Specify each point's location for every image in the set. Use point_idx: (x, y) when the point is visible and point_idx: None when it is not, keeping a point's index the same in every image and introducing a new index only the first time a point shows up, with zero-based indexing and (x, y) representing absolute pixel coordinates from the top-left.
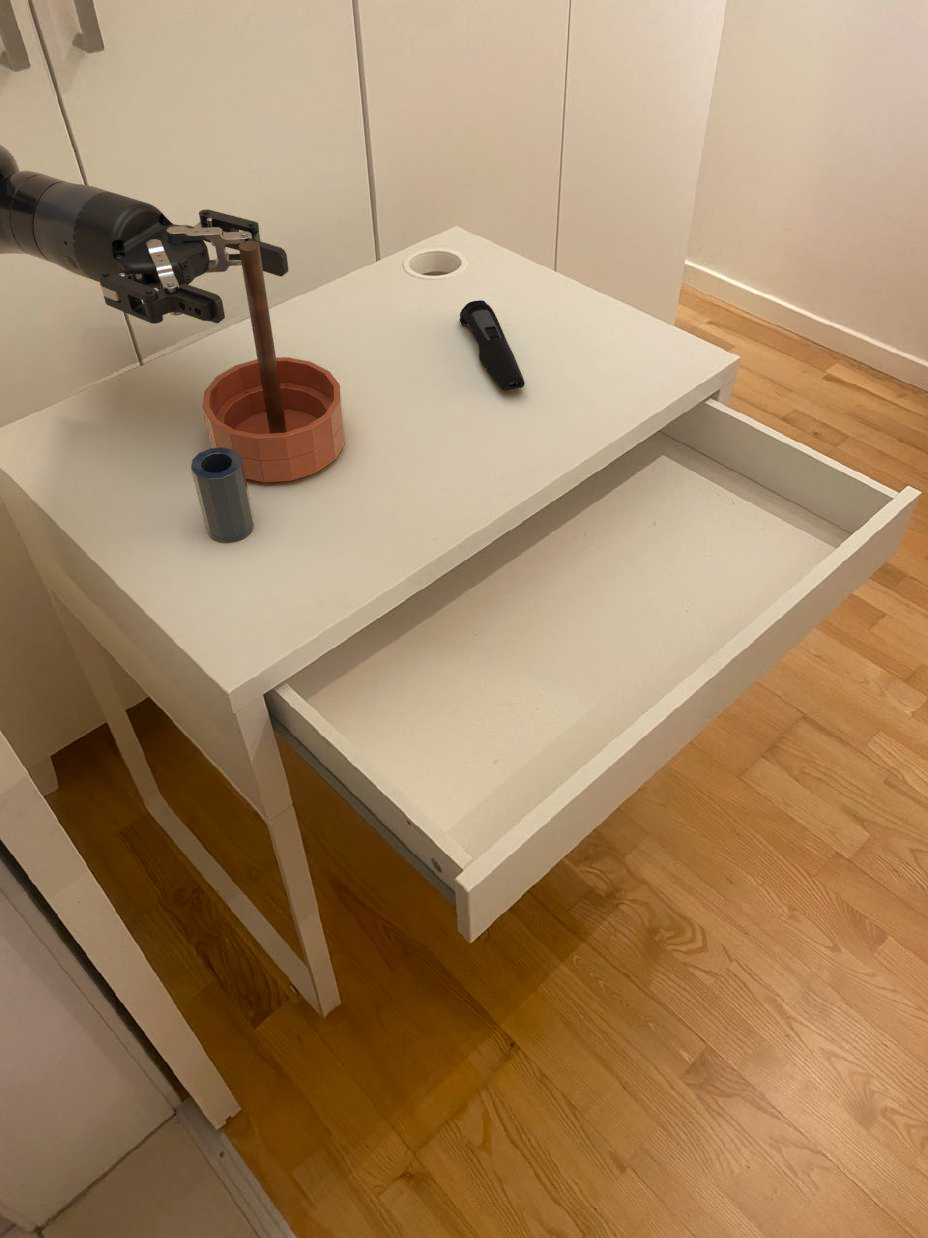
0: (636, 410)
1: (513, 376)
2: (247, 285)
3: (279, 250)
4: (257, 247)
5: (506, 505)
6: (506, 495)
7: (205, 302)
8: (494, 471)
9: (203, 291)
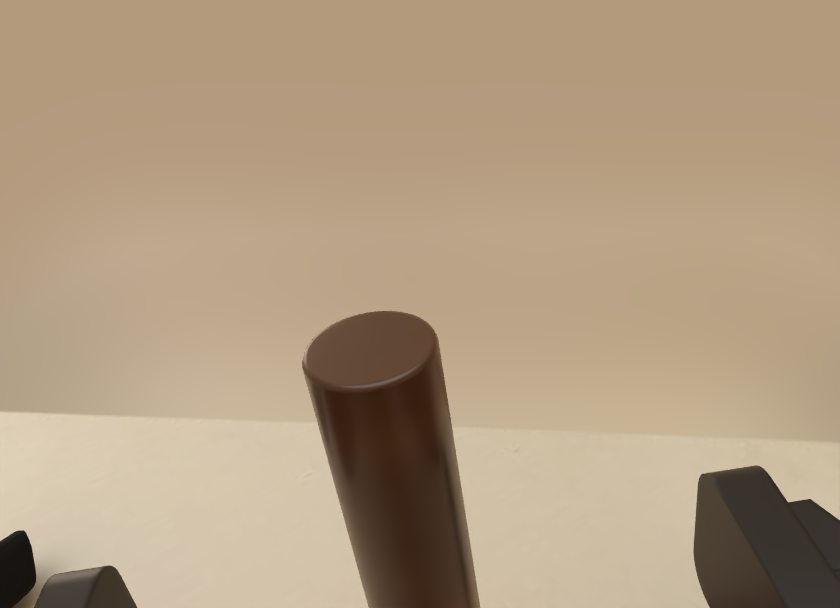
0: (38, 427)
1: (21, 537)
2: (466, 527)
3: (73, 578)
4: (358, 316)
5: None
6: None
7: (802, 518)
8: (296, 483)
9: (773, 555)
